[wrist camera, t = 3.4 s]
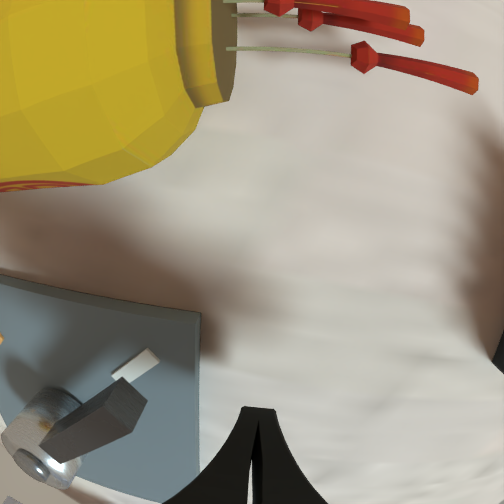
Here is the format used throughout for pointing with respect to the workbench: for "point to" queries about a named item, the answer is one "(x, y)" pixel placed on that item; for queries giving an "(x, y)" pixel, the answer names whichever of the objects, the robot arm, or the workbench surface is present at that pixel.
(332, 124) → the workbench surface
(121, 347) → the mounting plate
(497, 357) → the ammunition clip
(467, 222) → the workbench surface
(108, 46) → the lantern
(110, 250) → the workbench surface
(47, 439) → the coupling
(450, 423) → the workbench surface
